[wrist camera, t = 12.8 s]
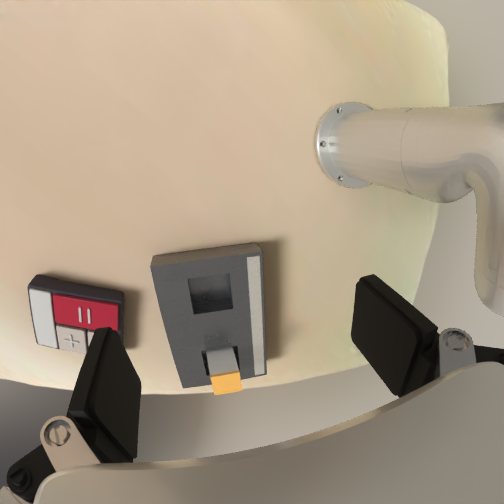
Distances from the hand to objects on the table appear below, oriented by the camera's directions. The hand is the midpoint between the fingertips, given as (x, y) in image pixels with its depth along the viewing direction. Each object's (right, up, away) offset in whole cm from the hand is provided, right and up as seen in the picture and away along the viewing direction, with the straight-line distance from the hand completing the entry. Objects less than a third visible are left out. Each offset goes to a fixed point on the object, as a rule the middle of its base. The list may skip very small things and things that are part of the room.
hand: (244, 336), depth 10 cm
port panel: (-5, -7, +32) cm, 33 cm away
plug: (-5, -12, +33) cm, 36 cm away
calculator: (-26, -6, +27) cm, 38 cm away
